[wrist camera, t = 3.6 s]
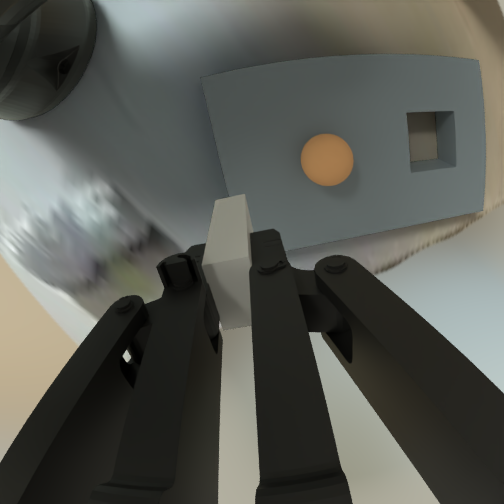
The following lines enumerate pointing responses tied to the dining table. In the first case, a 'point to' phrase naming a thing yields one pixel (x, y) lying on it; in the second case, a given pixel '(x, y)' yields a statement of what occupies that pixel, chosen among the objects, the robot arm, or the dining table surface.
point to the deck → (349, 142)
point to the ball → (327, 159)
